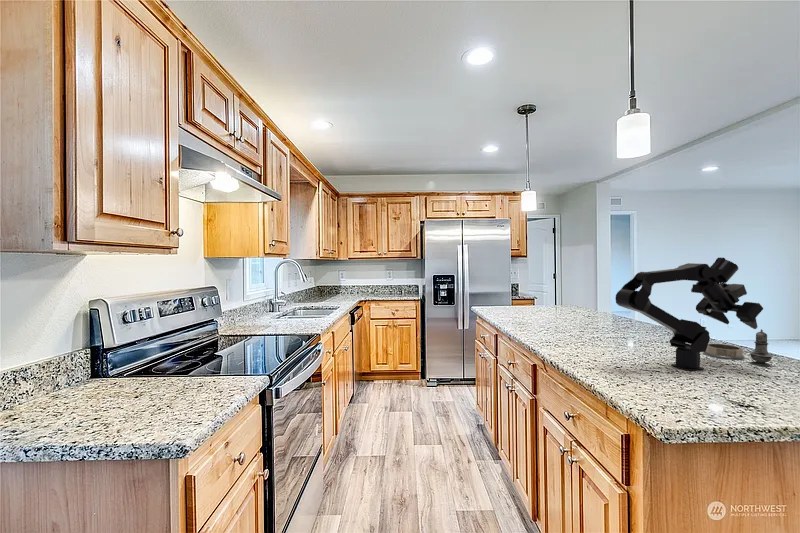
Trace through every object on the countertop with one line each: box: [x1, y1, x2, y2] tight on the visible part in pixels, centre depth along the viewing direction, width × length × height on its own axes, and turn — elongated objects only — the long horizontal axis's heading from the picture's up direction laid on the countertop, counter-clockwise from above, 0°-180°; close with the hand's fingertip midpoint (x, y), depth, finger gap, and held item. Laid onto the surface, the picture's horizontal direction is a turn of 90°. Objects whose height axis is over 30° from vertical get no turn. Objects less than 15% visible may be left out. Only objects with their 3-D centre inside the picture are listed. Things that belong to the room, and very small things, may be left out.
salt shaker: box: [749, 329, 774, 368], centre depth 132 cm, size 6×6×12 cm
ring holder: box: [702, 342, 745, 361], centre depth 144 cm, size 12×12×3 cm
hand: (741, 325), depth 131 cm, fingers open, 9 cm apart
